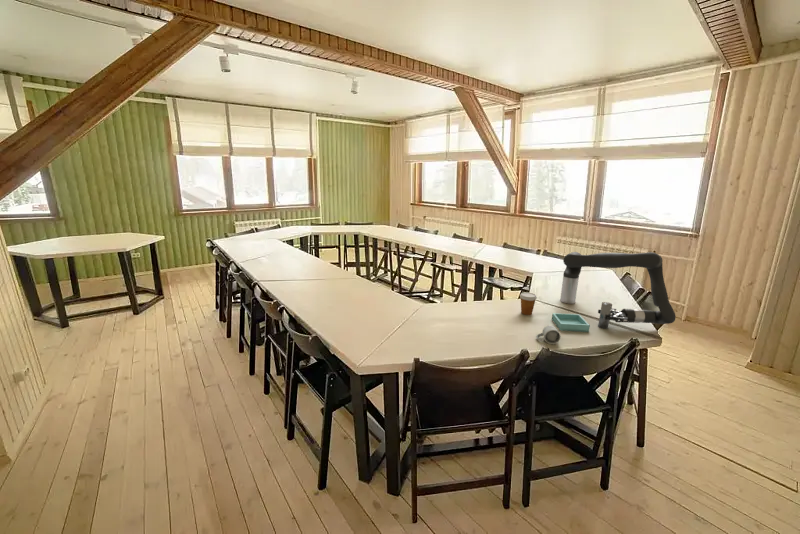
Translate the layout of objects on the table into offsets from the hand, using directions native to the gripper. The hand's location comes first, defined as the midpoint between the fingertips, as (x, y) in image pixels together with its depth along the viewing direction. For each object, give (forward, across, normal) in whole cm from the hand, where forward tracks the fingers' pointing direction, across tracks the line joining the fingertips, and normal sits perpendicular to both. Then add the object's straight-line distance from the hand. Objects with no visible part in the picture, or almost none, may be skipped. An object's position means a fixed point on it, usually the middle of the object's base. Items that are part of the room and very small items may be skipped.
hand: (601, 314), depth 197 cm
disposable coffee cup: (+36, -16, +8) cm, 40 cm away
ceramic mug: (+34, +20, +8) cm, 40 cm away
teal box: (+16, 0, +8) cm, 18 cm away
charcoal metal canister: (-2, 0, +8) cm, 8 cm away
